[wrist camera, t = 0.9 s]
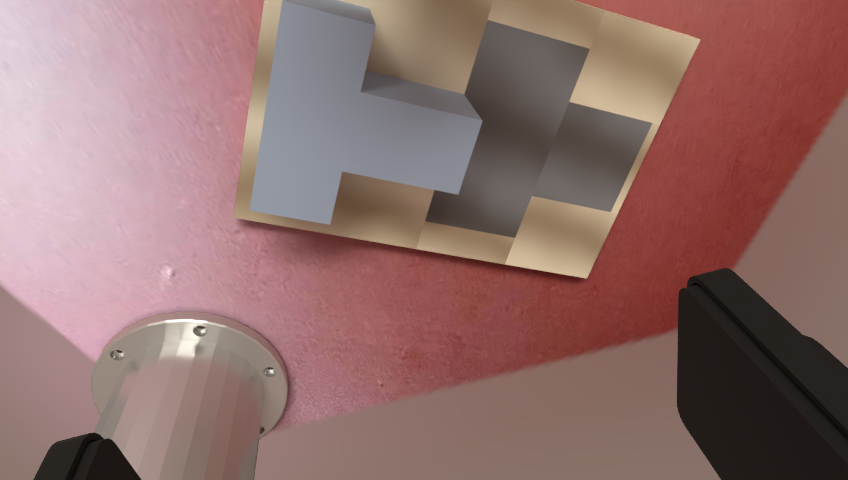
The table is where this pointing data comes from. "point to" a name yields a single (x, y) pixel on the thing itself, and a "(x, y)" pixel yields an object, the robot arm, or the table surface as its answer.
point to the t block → (349, 117)
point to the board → (504, 126)
